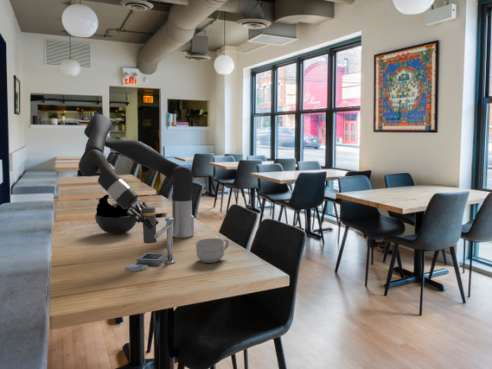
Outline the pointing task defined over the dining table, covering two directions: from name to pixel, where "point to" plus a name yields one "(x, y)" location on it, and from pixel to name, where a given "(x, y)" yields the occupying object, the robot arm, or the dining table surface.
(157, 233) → the gray square bar
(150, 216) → the plug
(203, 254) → the teacup
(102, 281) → the dining table surface
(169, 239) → the post
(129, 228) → the bowl of black rocks
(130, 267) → the mat
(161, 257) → the socket
